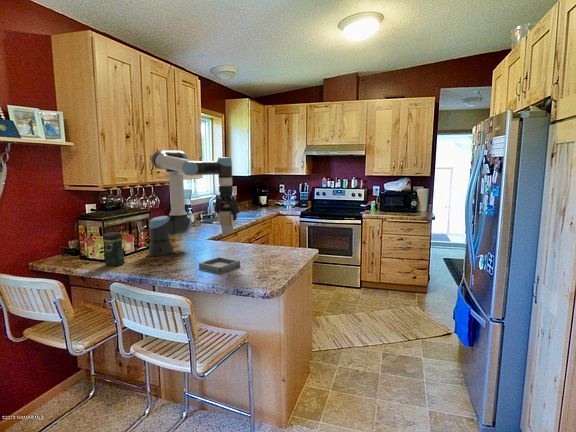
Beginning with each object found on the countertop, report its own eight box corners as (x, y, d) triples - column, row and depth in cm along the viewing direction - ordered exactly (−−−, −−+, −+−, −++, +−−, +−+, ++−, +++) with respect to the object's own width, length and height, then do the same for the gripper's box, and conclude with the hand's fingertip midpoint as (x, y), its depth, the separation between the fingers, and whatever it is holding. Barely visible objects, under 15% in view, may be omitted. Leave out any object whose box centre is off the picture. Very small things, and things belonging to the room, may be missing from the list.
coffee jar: (127, 263, 198) (124, 231, 195) (116, 267, 191) (113, 234, 188) (113, 261, 201) (110, 230, 198) (102, 265, 193) (99, 233, 191)
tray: (199, 268, 186) (198, 263, 186) (219, 261, 198) (219, 256, 198) (220, 273, 177) (219, 267, 177) (240, 266, 189) (239, 261, 189)
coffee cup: (232, 234, 190) (231, 207, 188) (216, 234, 192) (215, 207, 189) (238, 231, 199) (237, 205, 197) (222, 231, 201) (221, 205, 199)
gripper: (206, 185, 194) (208, 224, 198) (236, 186, 182) (237, 227, 186) (216, 184, 200) (217, 222, 204) (245, 185, 188) (246, 225, 192)
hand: (227, 225), depth 195 cm, fingers closed on coffee cup, 9 cm apart
